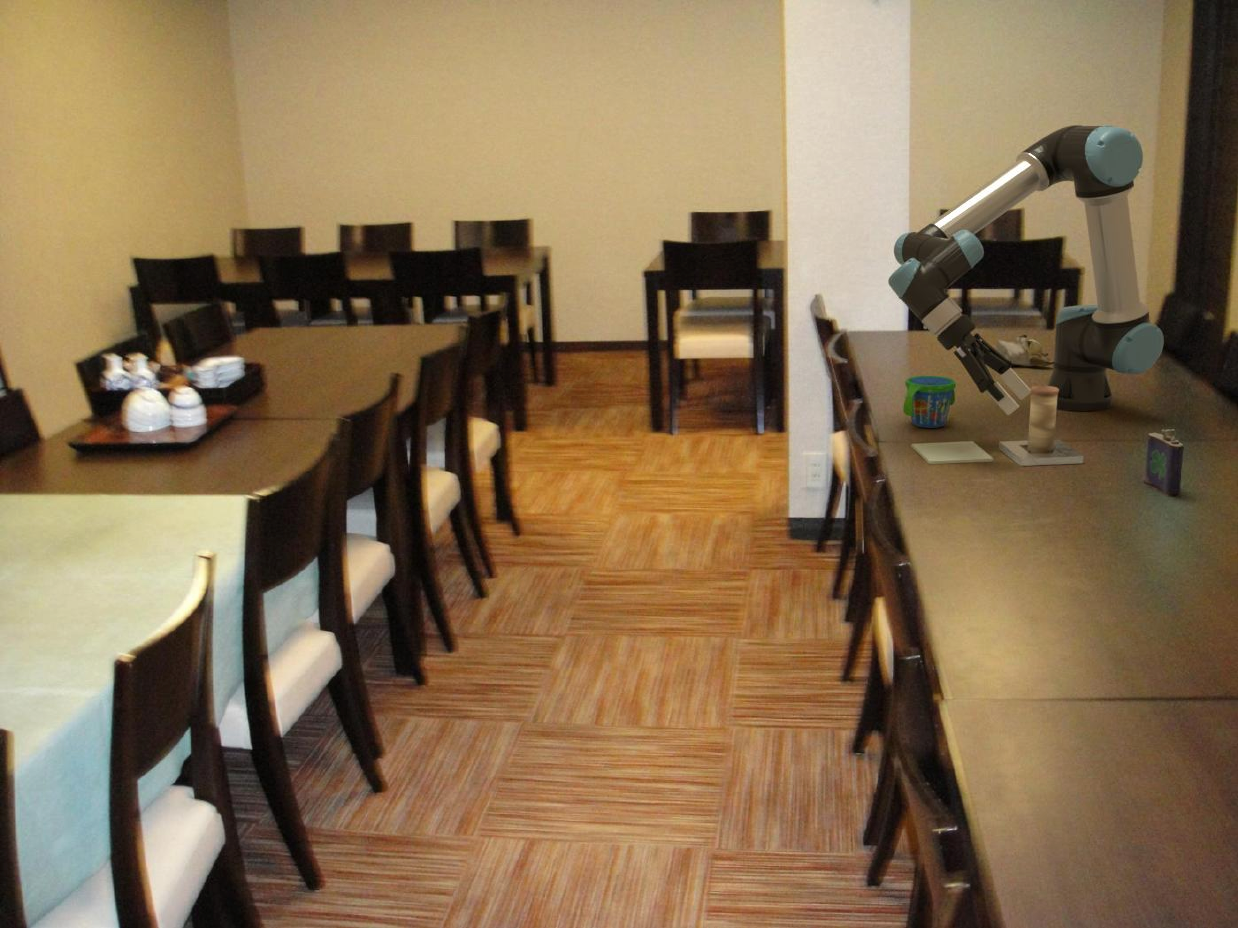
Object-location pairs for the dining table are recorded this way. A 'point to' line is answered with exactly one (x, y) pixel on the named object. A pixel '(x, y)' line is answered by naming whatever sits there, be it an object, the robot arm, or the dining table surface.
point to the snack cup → (929, 400)
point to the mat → (951, 452)
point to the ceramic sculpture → (1024, 352)
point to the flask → (1164, 463)
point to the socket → (1024, 458)
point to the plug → (1042, 419)
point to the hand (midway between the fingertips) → (1020, 403)
